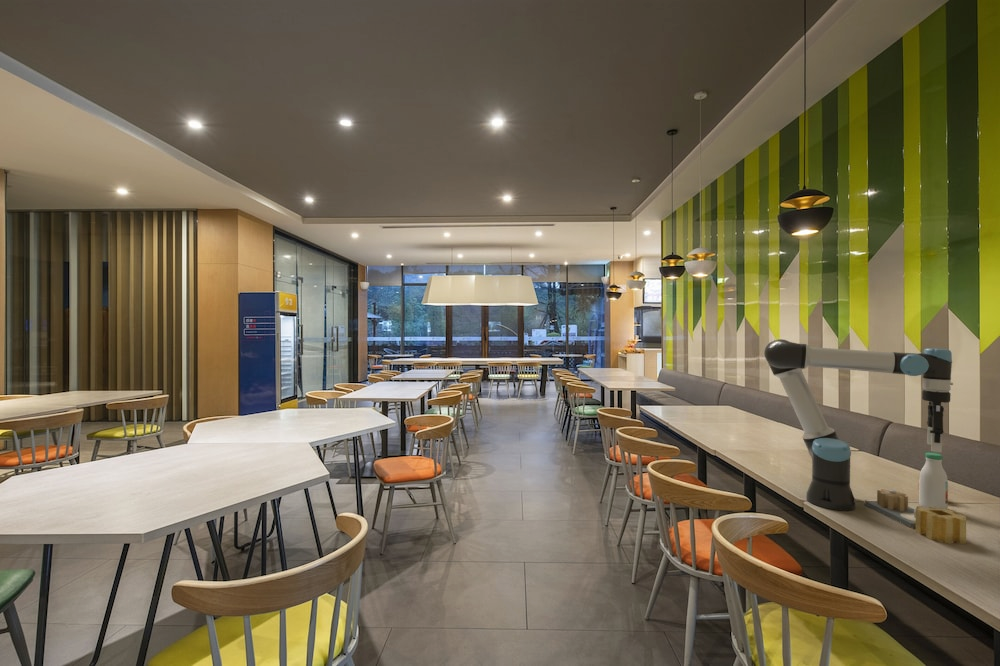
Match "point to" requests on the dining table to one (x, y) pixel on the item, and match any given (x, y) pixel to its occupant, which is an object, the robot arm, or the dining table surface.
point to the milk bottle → (933, 483)
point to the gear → (941, 525)
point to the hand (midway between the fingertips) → (934, 448)
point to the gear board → (892, 513)
